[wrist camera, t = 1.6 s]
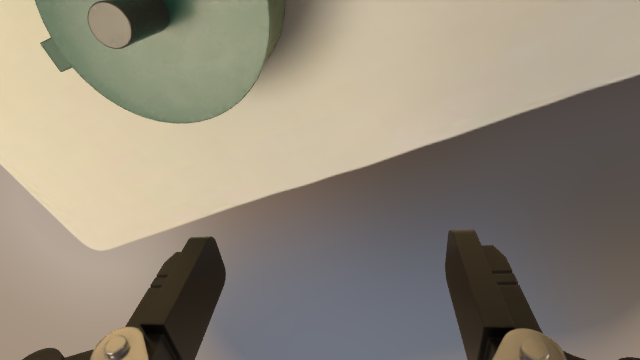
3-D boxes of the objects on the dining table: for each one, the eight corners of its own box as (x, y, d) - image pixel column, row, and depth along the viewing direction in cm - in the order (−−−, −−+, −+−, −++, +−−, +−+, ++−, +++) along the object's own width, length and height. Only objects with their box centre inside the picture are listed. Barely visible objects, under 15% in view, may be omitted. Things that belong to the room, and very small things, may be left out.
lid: (-15, -74, 24) (-115, -79, 19) (198, -203, 20) (143, -254, 15) (133, 140, 32) (91, 178, 27) (307, 82, 28) (296, 113, 23)
